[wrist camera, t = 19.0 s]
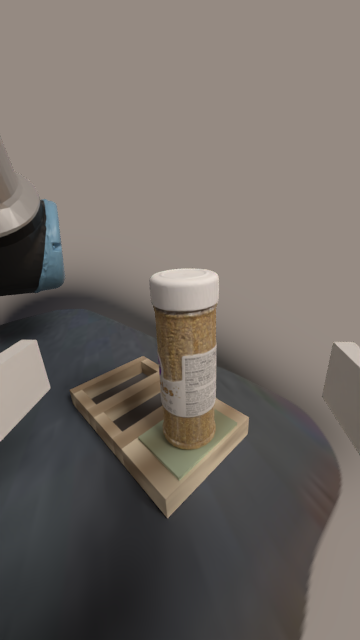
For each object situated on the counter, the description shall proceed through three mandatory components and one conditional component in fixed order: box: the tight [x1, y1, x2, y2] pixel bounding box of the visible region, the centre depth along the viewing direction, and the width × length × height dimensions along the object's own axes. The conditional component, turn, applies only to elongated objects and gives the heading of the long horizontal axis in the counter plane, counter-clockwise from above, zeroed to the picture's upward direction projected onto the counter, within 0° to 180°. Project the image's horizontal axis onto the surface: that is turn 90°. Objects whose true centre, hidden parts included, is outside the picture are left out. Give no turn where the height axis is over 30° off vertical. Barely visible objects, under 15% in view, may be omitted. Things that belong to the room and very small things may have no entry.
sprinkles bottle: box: [150, 269, 219, 450], centre depth 18 cm, size 5×5×14 cm
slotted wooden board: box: [70, 356, 249, 519], centre depth 25 cm, size 16×10×2 cm, turn 44°
